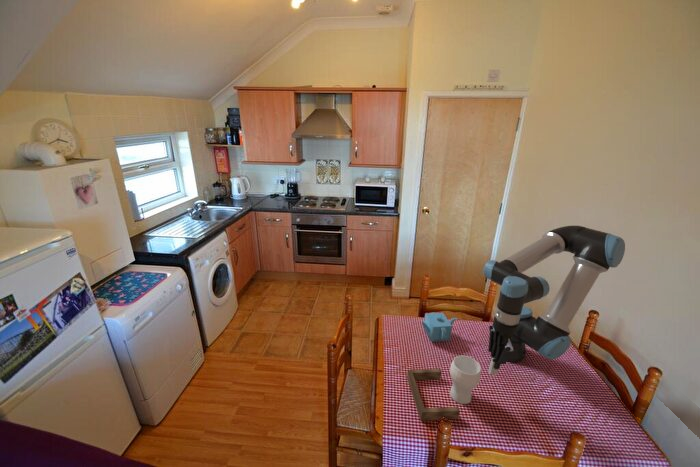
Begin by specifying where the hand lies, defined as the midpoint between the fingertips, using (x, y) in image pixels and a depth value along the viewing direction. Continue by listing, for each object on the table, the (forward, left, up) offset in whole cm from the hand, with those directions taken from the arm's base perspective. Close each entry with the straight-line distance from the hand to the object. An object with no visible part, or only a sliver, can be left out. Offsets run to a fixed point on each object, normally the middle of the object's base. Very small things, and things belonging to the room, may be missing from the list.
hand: (492, 372), depth 112 cm
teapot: (+8, -34, -11) cm, 37 cm away
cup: (+11, 0, -11) cm, 15 cm away
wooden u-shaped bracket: (+22, 0, -11) cm, 24 cm away
